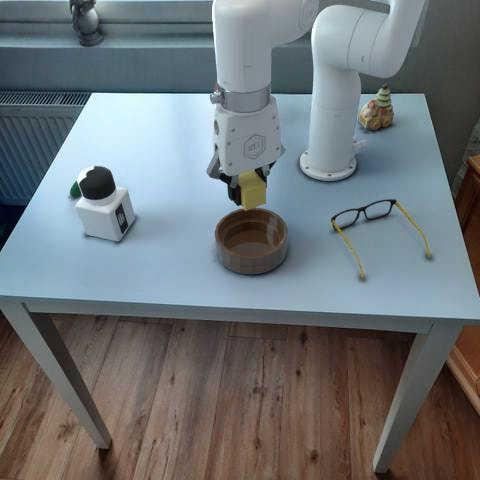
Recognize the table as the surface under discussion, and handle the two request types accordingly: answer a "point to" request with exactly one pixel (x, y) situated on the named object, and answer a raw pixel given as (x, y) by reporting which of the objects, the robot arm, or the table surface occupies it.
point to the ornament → (377, 111)
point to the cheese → (252, 190)
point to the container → (103, 204)
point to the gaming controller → (75, 190)
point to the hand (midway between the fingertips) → (247, 196)
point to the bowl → (251, 240)
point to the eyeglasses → (392, 202)
